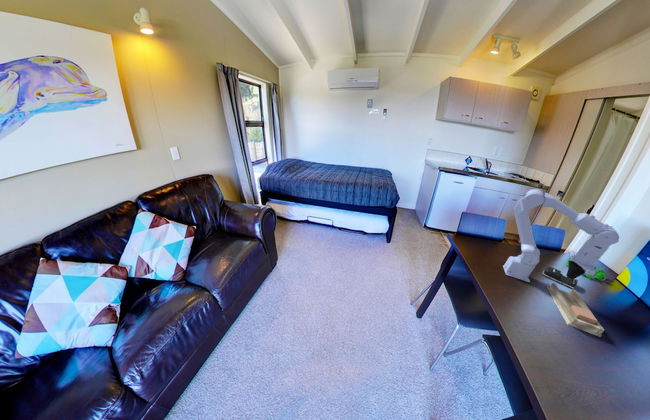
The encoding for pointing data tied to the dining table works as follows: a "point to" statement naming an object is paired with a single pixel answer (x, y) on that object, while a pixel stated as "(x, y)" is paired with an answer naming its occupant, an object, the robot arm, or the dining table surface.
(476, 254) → the dining table surface
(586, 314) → the block
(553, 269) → the battery charger
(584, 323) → the chute
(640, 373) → the dining table surface
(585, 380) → the dining table surface
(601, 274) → the green irregular lump
